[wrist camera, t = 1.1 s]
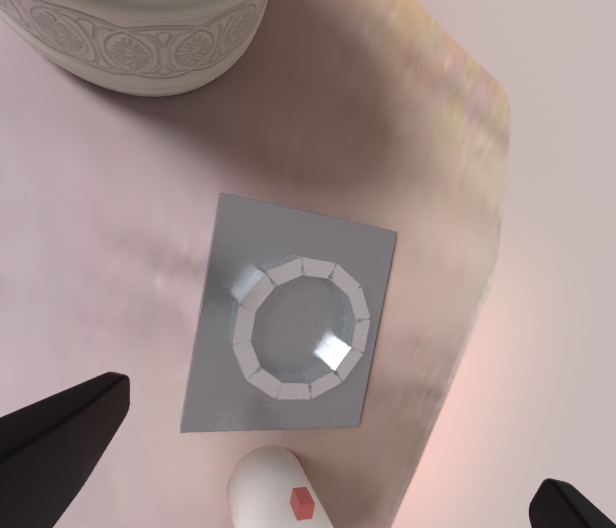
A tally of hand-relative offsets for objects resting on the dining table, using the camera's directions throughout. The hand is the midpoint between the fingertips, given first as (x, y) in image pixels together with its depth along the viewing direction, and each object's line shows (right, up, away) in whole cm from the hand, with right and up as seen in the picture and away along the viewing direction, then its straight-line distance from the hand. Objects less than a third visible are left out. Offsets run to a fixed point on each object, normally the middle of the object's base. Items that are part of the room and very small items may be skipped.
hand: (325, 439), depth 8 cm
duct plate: (-1, 0, +15) cm, 15 cm away
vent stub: (-3, -11, +16) cm, 20 cm away
